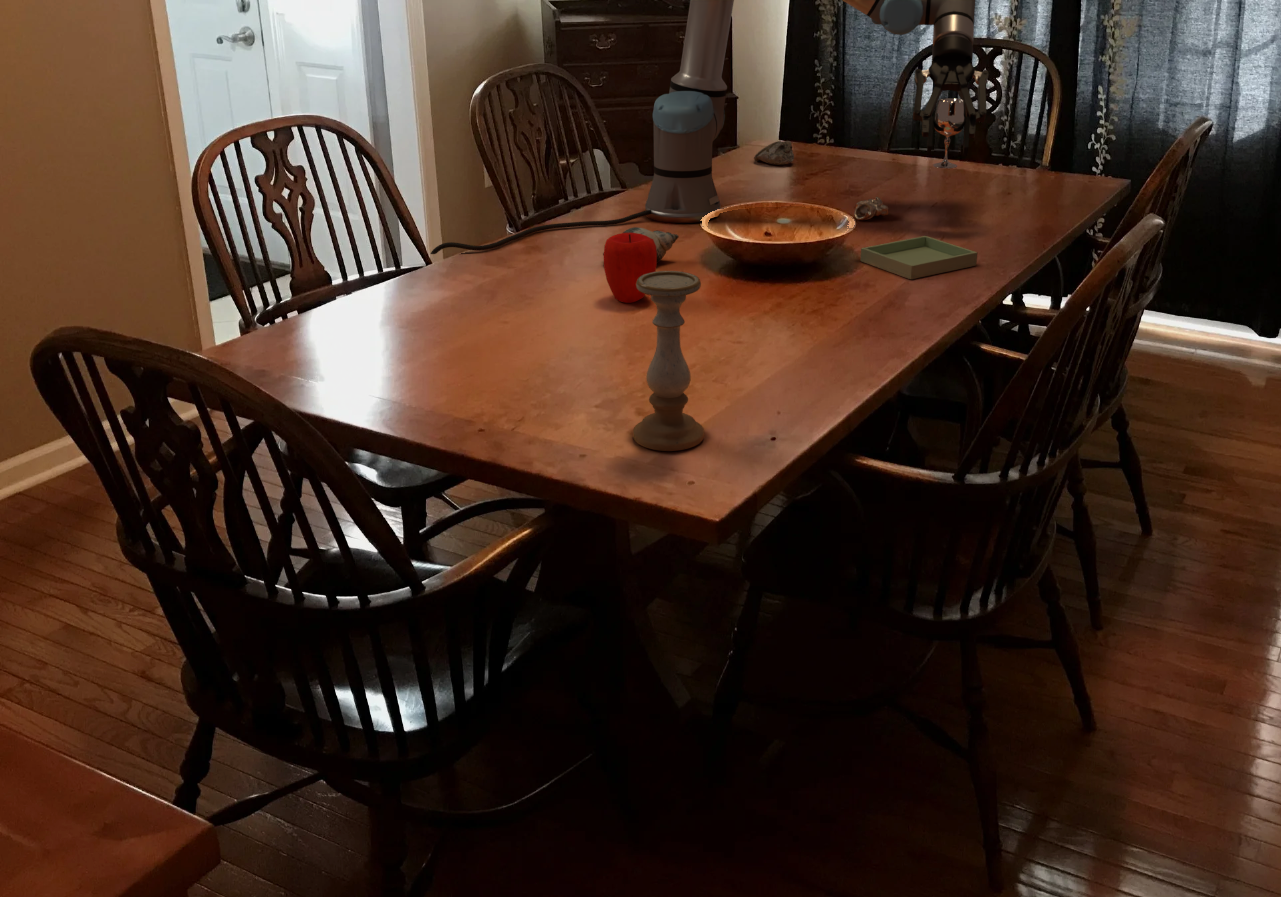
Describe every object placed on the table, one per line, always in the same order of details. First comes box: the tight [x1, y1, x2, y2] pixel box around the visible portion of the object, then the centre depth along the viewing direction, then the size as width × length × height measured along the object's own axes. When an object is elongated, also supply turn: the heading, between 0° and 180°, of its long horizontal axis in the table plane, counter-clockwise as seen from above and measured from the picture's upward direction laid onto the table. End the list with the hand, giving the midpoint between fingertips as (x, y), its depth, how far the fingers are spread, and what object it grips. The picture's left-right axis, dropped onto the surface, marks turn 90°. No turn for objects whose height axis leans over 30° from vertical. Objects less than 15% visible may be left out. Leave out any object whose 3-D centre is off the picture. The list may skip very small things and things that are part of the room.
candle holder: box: [632, 270, 705, 452], centre depth 153 cm, size 9×9×20 cm
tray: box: [859, 235, 978, 280], centre depth 223 cm, size 15×13×2 cm
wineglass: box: [932, 97, 966, 169], centre depth 235 cm, size 6×6×12 cm
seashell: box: [602, 226, 679, 263], centre depth 225 cm, size 6×8×12 cm
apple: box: [603, 232, 658, 304], centre depth 205 cm, size 9×9×11 cm
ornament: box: [853, 196, 889, 221], centre depth 252 cm, size 8×7×4 cm
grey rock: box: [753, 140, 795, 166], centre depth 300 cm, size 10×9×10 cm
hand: (947, 150), depth 233 cm, fingers closed on wineglass, 6 cm apart
